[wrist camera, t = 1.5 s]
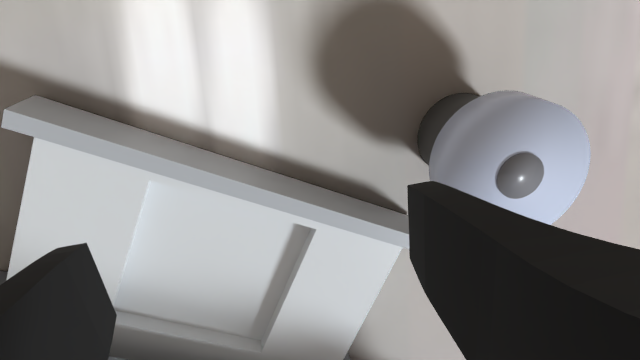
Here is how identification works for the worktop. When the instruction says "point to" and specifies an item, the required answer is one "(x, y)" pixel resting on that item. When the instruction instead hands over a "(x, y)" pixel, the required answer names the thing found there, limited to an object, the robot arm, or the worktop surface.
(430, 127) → the dark grey cylinder
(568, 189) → the disc
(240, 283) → the tray
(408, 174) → the worktop surface
